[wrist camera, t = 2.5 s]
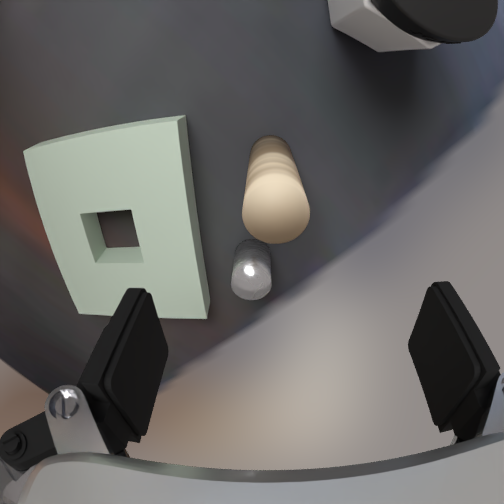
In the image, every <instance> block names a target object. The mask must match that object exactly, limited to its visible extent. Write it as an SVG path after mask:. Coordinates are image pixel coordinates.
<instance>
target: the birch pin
mask: <svg viewBox="0 0 504 504" xmlns="http://www.w3.org/2000/svg"><path fill="white" fill-rule="evenodd" d="M242 217H243V222H244V225H245V227H246V228H247V230H248V231H249V232H250V234H252V235H253V236H254V237H255V238H257V239H258V240H260V241H263V242H266V243H271V244H280V243H285V242H288V241H291V240H293V239H295V238H296V237H298V236H299V235H300V234H301V233H302V232H303V231H304V229H305V228H306V226H307V224H308V222H309V217H310V209H309V204H308V201H307V198H306V195H305V192H304V189H303V186H302V183H301V180H300V177H299V174H298V171H297V168H296V165H295V162H294V159H293V156H292V153H291V150H290V147H289V145H288V144H287V143H286V142H285V141H284V140H283V139H282V138H280V137H277V136H273V135H269V136H264V137H261V138H260V139H258V140H257V141H256V142H255V143H254V144H253V146H252V148H251V152H250V159H249V166H248V173H247V180H246V188H245V195H244V202H243V210H242Z"/></svg>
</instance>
